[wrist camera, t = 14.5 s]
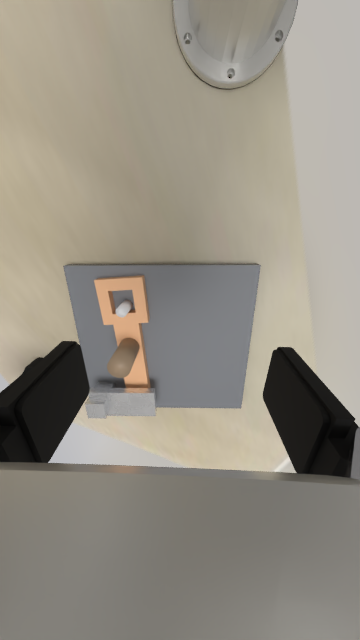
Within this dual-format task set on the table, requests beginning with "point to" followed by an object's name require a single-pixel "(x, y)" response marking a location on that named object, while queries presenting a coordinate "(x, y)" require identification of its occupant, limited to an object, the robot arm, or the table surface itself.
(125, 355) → the link
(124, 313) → the pintle board
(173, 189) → the table surface
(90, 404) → the keeper
